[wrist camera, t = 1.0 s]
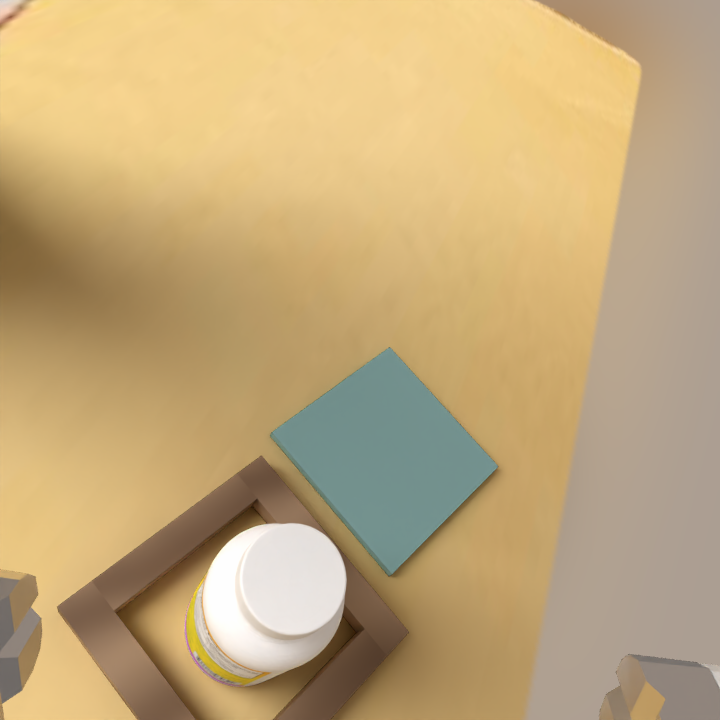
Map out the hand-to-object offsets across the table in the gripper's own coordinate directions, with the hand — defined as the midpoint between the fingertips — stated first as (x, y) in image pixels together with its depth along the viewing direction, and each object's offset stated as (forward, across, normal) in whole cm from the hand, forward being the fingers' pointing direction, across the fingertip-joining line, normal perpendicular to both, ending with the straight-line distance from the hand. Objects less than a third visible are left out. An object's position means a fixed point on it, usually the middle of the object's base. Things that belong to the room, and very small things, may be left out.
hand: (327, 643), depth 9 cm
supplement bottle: (+21, +4, +24) cm, 33 cm away
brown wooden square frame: (+21, +4, +24) cm, 32 cm away
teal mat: (+33, -3, +19) cm, 38 cm away
